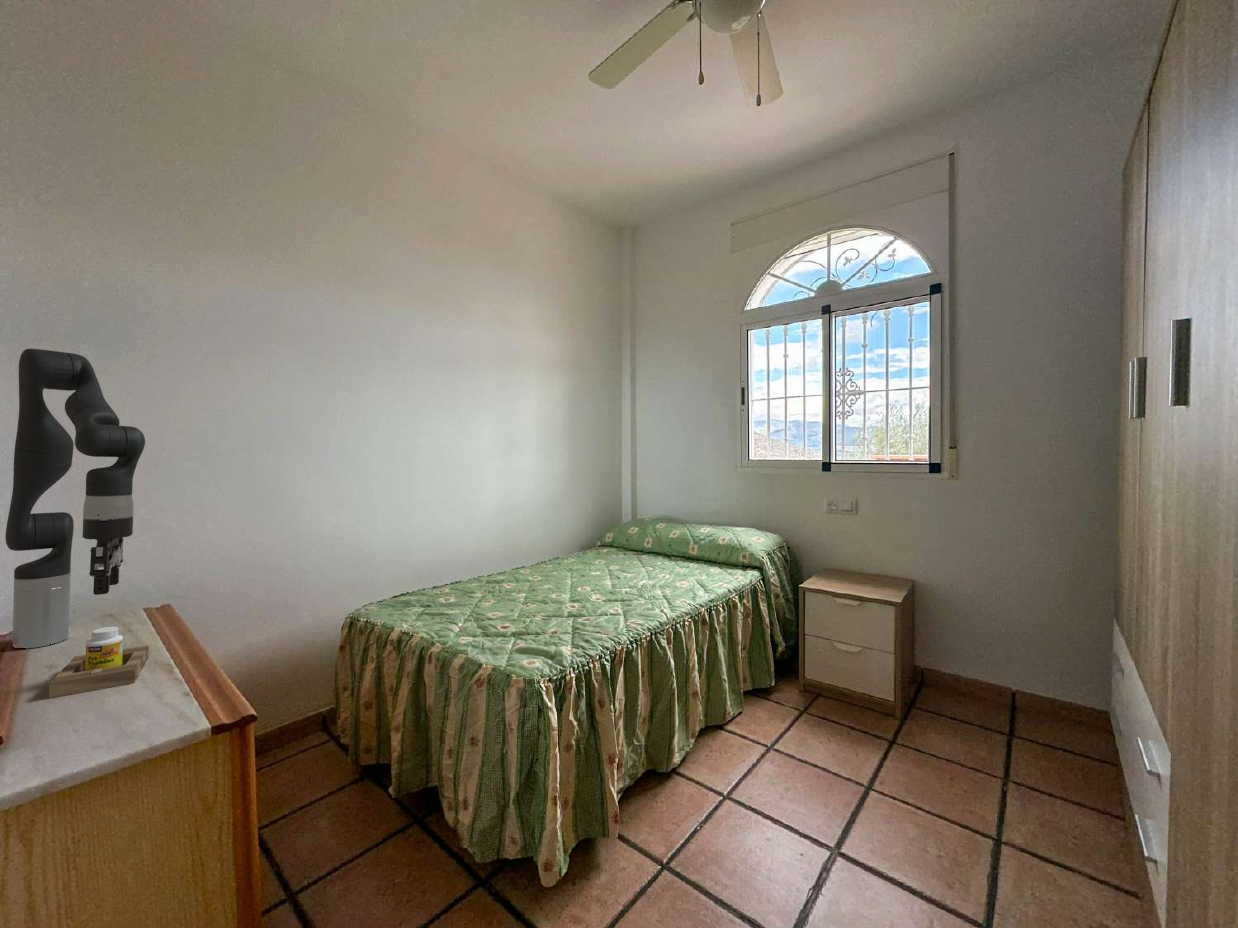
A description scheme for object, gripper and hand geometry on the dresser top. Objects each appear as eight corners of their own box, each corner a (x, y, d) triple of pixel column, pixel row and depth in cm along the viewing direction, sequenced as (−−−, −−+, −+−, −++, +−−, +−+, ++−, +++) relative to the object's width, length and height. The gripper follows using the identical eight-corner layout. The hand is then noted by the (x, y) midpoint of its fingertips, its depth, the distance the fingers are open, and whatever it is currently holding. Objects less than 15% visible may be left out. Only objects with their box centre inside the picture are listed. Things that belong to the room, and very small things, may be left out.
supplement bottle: (80, 683, 101) (81, 635, 101) (90, 673, 105) (91, 627, 105) (117, 677, 104) (118, 631, 104) (125, 668, 108) (127, 623, 108)
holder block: (74, 669, 107) (74, 654, 107) (148, 657, 114) (149, 643, 114) (49, 698, 94) (49, 681, 94) (134, 682, 101) (134, 667, 101)
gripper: (92, 513, 108) (90, 584, 108) (73, 520, 96) (70, 599, 96) (139, 511, 112) (137, 580, 112) (125, 518, 101) (123, 594, 101)
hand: (106, 589), depth 104 cm, fingers open, 8 cm apart
